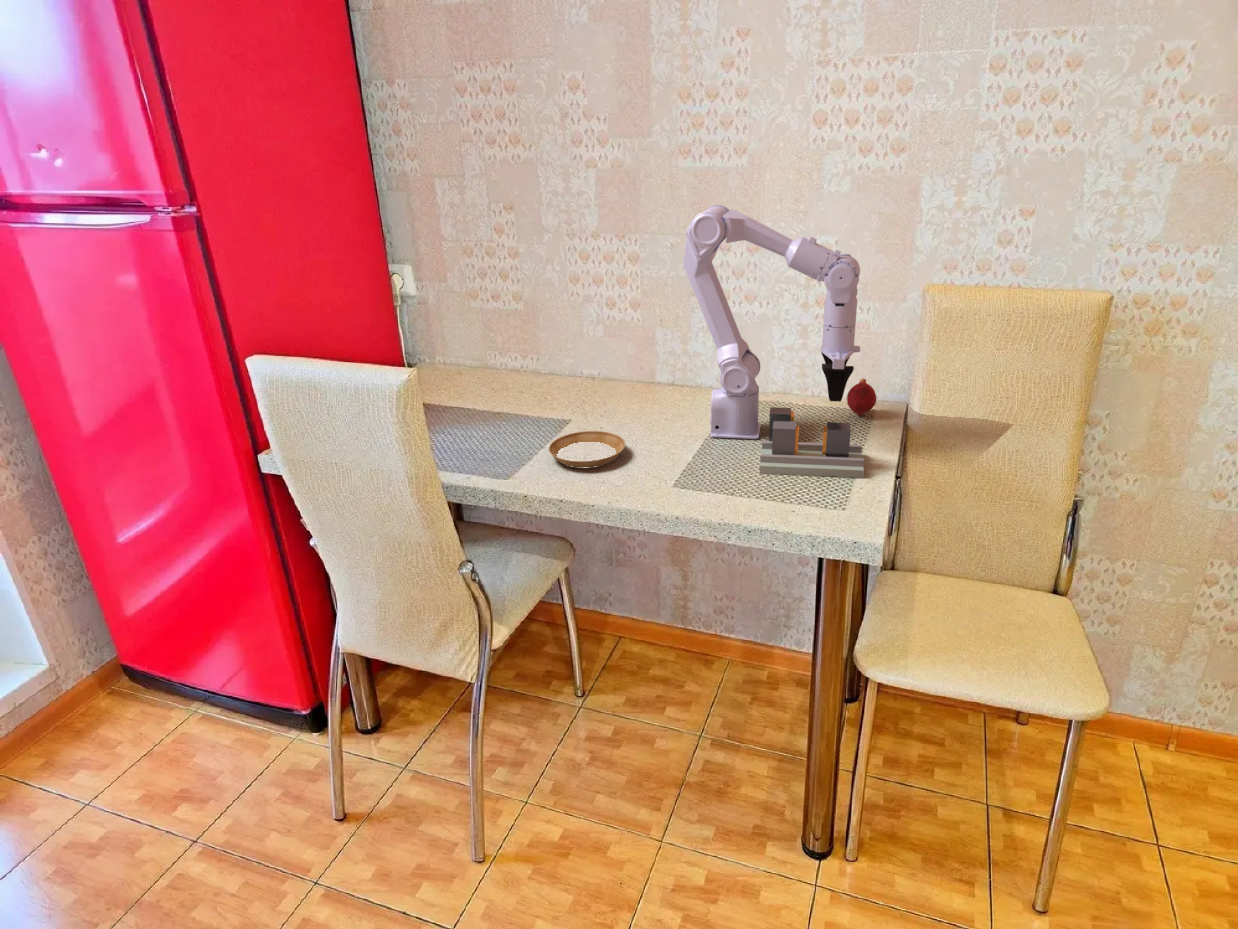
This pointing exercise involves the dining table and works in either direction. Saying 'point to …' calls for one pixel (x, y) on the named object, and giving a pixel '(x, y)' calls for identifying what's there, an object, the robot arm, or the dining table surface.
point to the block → (779, 417)
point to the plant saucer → (587, 436)
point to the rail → (805, 456)
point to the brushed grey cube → (836, 440)
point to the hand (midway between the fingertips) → (834, 393)
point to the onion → (861, 398)
